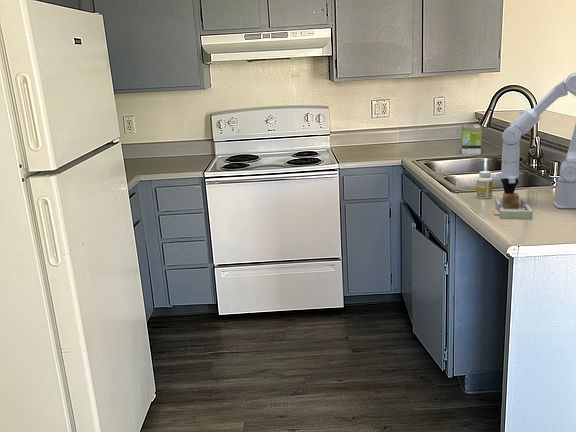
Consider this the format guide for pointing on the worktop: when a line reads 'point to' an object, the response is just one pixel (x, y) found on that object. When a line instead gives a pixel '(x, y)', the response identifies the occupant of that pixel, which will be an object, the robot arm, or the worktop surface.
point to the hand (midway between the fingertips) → (508, 199)
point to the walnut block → (510, 200)
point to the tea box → (471, 139)
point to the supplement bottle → (484, 185)
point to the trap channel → (513, 211)
